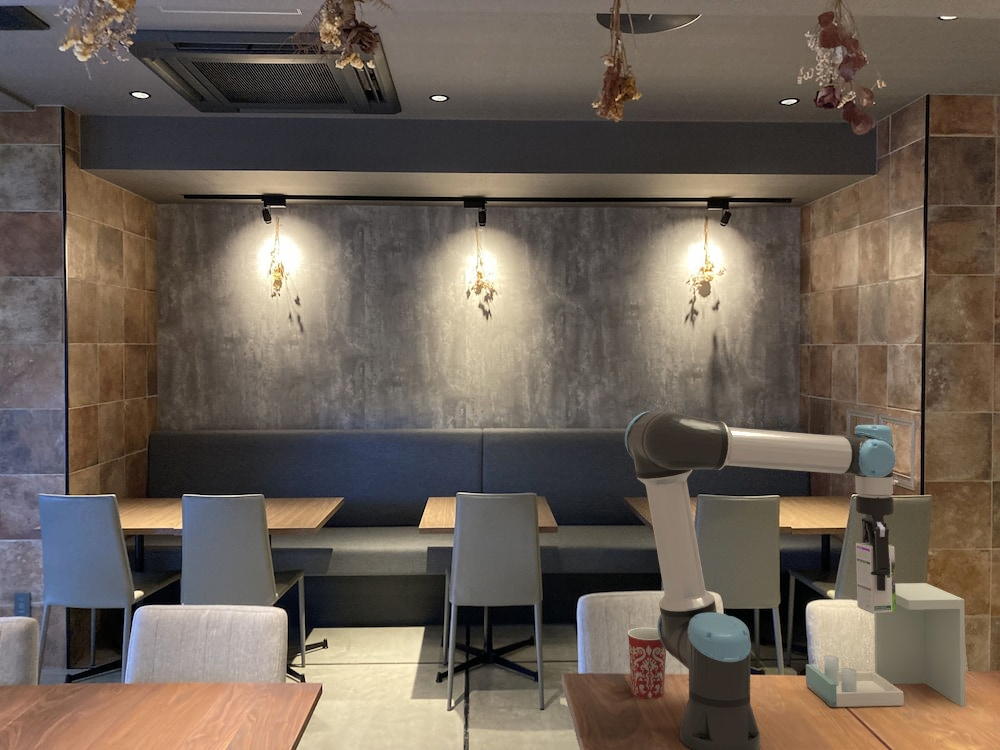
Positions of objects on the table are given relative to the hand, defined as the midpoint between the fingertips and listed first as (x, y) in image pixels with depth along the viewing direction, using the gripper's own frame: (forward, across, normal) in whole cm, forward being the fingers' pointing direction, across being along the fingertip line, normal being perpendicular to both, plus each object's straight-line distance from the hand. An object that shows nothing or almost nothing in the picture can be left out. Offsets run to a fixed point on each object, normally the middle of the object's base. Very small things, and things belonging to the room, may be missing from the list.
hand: (875, 600), depth 184 cm
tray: (+22, +3, +4) cm, 23 cm away
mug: (+22, -2, +50) cm, 54 cm away
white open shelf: (+22, +7, -10) cm, 26 cm away
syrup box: (+2, 0, 0) cm, 2 cm away
